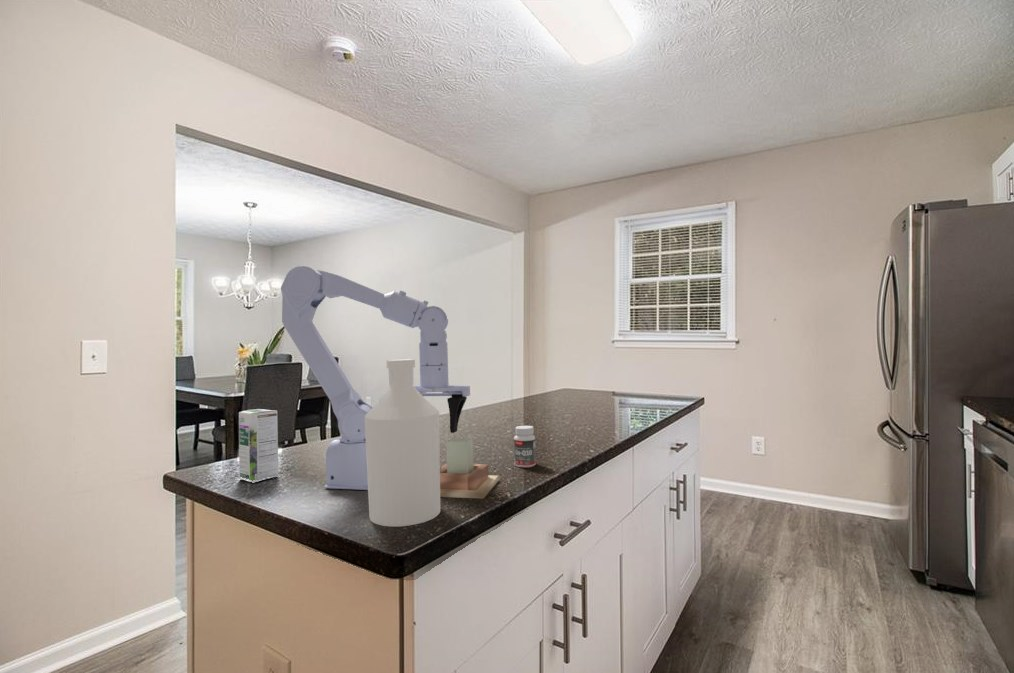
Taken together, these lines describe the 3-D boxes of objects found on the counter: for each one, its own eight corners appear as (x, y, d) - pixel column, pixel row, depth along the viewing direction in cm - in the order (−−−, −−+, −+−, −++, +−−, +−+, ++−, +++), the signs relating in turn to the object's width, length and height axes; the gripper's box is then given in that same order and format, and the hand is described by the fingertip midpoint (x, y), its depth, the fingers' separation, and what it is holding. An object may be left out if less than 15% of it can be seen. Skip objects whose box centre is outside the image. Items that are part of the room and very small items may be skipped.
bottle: (410, 496, 88) (406, 358, 88) (457, 509, 80) (452, 358, 81) (352, 516, 79) (348, 361, 79) (398, 533, 71) (393, 361, 71)
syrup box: (238, 480, 103) (236, 411, 103) (265, 473, 107) (263, 407, 108) (252, 484, 99) (250, 413, 99) (280, 477, 104) (278, 409, 104)
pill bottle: (513, 467, 106) (511, 429, 106) (516, 462, 111) (515, 425, 111) (534, 467, 105) (533, 429, 105) (537, 462, 110) (535, 425, 110)
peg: (447, 485, 91) (446, 442, 91) (454, 479, 95) (452, 437, 95) (468, 485, 90) (467, 442, 90) (474, 479, 94) (472, 438, 94)
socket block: (419, 495, 88) (419, 476, 88) (441, 478, 99) (440, 461, 99) (483, 498, 86) (482, 478, 86) (498, 480, 96) (498, 462, 96)
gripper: (392, 367, 98) (394, 435, 98) (461, 365, 94) (463, 436, 94) (407, 365, 105) (409, 428, 104) (472, 363, 101) (474, 429, 101)
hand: (435, 431), depth 100 cm, fingers open, 7 cm apart
